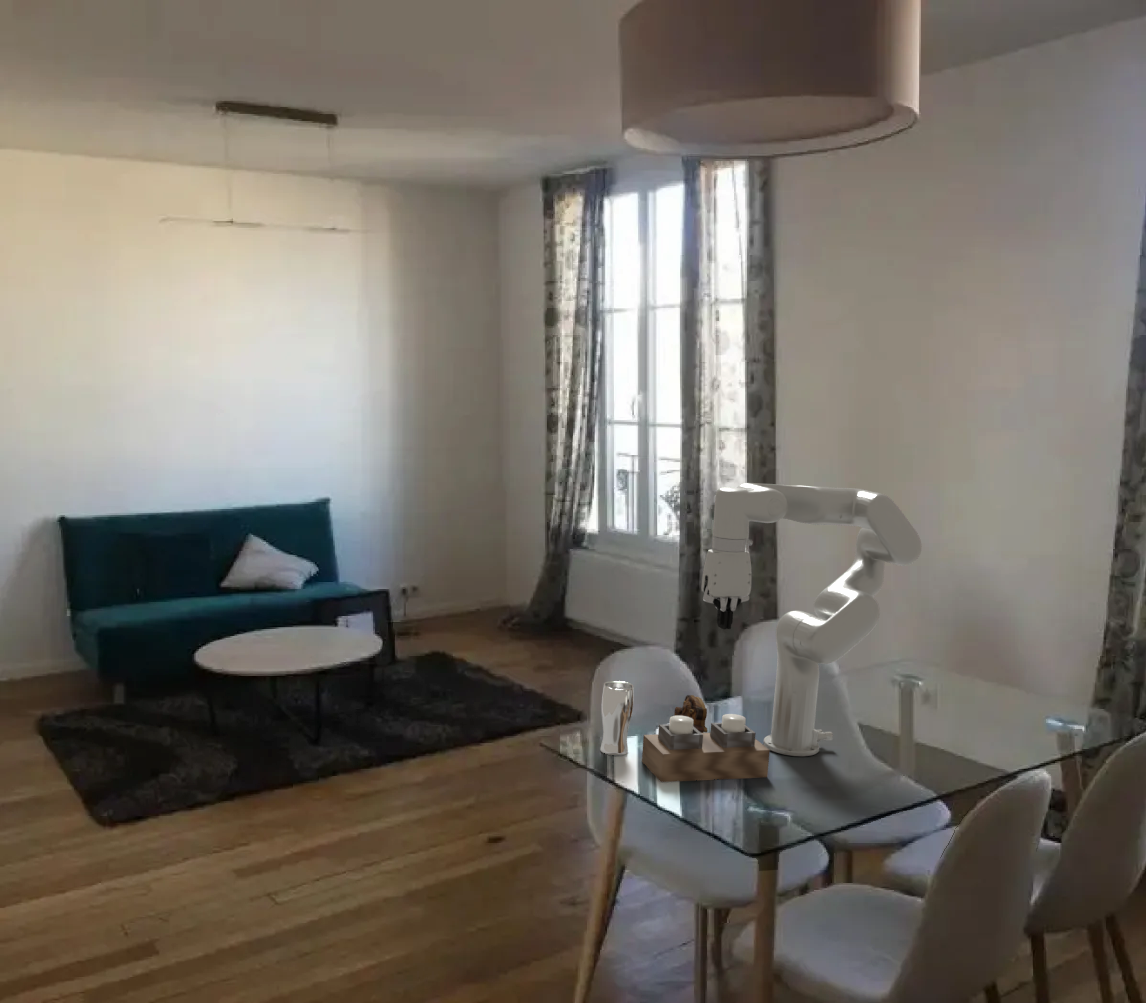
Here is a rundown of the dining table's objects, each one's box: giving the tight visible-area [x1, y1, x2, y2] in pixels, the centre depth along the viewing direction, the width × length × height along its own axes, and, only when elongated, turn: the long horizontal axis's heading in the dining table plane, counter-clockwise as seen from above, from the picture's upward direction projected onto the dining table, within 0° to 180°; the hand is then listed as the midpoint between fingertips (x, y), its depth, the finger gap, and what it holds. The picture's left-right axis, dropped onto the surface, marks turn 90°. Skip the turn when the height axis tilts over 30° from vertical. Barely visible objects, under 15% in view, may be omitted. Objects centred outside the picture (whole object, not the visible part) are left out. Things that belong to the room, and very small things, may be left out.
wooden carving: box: [673, 694, 708, 733], centre depth 272 cm, size 16×5×10 cm, turn 18°
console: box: [641, 722, 771, 783], centre depth 253 cm, size 24×12×9 cm, turn 106°
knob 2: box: [721, 713, 747, 733], centre depth 254 cm, size 5×5×5 cm
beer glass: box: [600, 680, 635, 757], centre depth 260 cm, size 7×7×15 cm
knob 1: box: [669, 715, 694, 734], centre depth 250 cm, size 5×5×5 cm
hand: (724, 627), depth 258 cm, fingers closed
